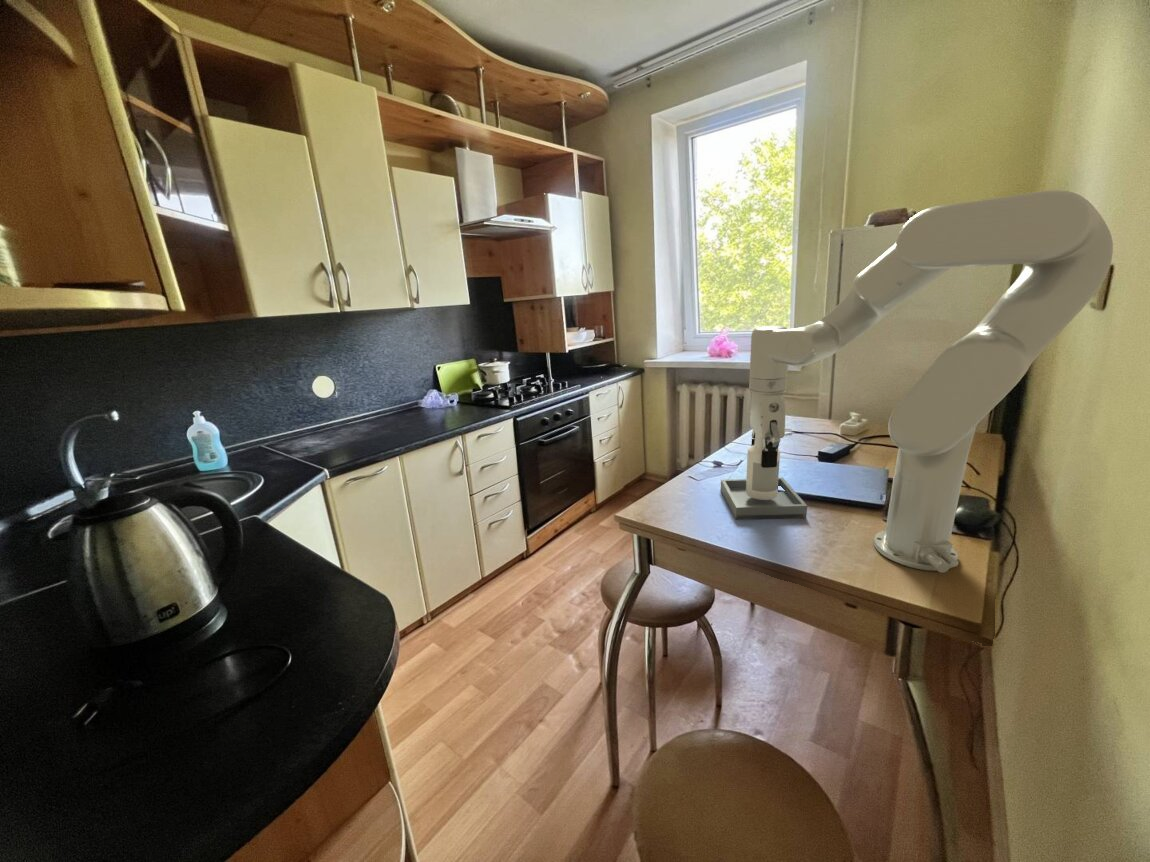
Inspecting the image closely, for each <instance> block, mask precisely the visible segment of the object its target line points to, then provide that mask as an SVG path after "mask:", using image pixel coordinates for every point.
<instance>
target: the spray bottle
mask: <svg viewBox="0 0 1150 862" xmlns="http://www.w3.org/2000/svg"><path fill="white" fill-rule="evenodd" d="M769 436H771V434H766V437H769ZM769 442H771V440H767V445H768V443H769ZM762 450H764V447H763V438H761V437H760V436H759V435H758V434H757V433H756V432H755V444H754V445H753V446H749V447H748V448H747V454H746V455H747V457H746V477H745V479H746V493H747V495H748V496H750V497H752V498H755V499H759V500H770V499H774V498H775V497H776V496H777V491H778V478H779V473H780V472H779V471H780V461H781V460H780V459H781V457H780V456H781V451H780V449H779V448H778V456H777V466H776V467H771V468H763V467H762V466H761V458H762Z"/></svg>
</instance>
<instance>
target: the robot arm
mask: <svg viewBox="0 0 1150 862" xmlns="http://www.w3.org/2000/svg"><path fill="white" fill-rule="evenodd" d="M1111 234H1112V233H1111V231H1110V229H1109V227H1108V225H1107V223H1106V221H1105V220H1104V218H1103V217H1102V215H1101V214H1100V212H1099V211H1098V210H1097V208H1096V207H1095V206H1094V205H1093V203H1091V202H1090V201H1089V200H1087V199H1086V197H1084V196H1082V195H1081V194H1079V193H1076V192H1073V191H1069V190H1060V189H1055V190H1053V189H1052V190H1051V189H1050V190H1043V191H1042V190H1041V191H1036V192H1028V193H1022V194H1015V195H1009V196H1001V197H995V198H988V199H981V200H980V199H979V200H972V201H966V202H959V203H958V202H957V203H949V204H941V205H939V204H938V205H935V206H931V207H927V208H925V209H923V210H921V211H919V212H918V213H916V214H914V215H913V216H912V217H910V218H909V220H907V221H906V222H905V223H904V225H903V226H902V227H901V229H900V230H899V232H898V234H897V236H896V241H895V243H894V244H893V245H892V246H891V247H889V248H888V249H887V250H886V251H884V253H882V254H881V255H879V257H878V258H876V259H875V260H874V261H872V262H871V263H870V264H869V265H868V266H867V267H865V268H864V269H863V270H861V272H859V273H858V274H857V275H856V276H855V278H854V279H853V280H852V282H851V287H850V290H849V292H848V293H847V294H846V296H845V297H844V298H843V300H842V301H841V302H839V303H838V304H837V305H836V306H835V307H834V308H832V309H831V310H830V311H829V312H828V313H827V314H825V315H824V316H823V317H822V318H820V319H818V320H817V321H816V322H814V323H812V324H808V325H807V324H806V325H804V326H801V327H795V328H790V329H789V328H788V327H786V326H784V325H763V326H759V327H756V328H754V329H753V331H752V332H751V337H750V339H751V340H750V360H749V383H748V385H749V386H748V392H749V393H751V401H750V402H751V403H750V410H749V411H750V412H749V415H750V416H749V421H750V422H749V425H750V428H751V429H752V433H751V446H753V445H754V444H755V432H756V433H757V434H758V435H759V436H760V437H761V438H763V447H764V450H762V458H761V466H762V467H763V468H771V467H776V466H777V456H778V449H779V446H780V442H781V439H783V438H785V436H786V399H785V393H786V392H787V387H788V386H787V385H788V373H789V370H788V369H789V365H790V366H796V367H805V366H806V367H807V366H809V365H811V364H813V363H814V364H815V363H816V362H819V361H822V360H825V359H827V358H830V357H832V356H833V355H835V354H836V353H838V352H839V351H841V350H842V349H844V348H845V347H846V346H847V345H849V344H851V343H852V342H853V341H855V340H856V339H857V338H858V337H860V336H861V335H863V334H864V333H865V332H867V331H868V330H869V329H870V328H872V327H873V326H874V325H875V324H877V323H878V322H880V321H881V320H883V319H884V318H885V317H886V316H888V314H890V313H891V312H892V311H893V310H895V309H896V308H897V307H899V306H900V305H902V304H903V303H904V302H905V301H907V300H908V299H910V298H911V297H912V296H914V295H915V294H916V293H918V292H919V291H921V290H922V289H923V288H925V287H926V286H927V285H929V284H930V283H932V282H933V281H934V280H936V279H937V278H940V276H941V275H943V274H944V273H946V272H948V270H950V269H952V268H970V267H988V266H1005V265H1022V269H1021V271H1020V273H1019V275H1018V276H1017V278H1016V279H1015V281H1014V282H1013V283H1012V285H1010V286H1009V288H1008V289H1007V290H1006V291H1005V292H1004V293H1003V294H1002V296H1000V298H998V300H997V302H996V303H995V304H994V305H993V307H992V308H991V309H990V311H989V312H988V313H987V314H986V315H985V316H984V317H983V318H982V320H980V321H979V323H978V324H977V325H976V326H975V327H974V328H973V329H972V330H971V331H970V332H968V334H966V335H965V336H962V337H961V338H960V339H958V340H956V341H954V342H953V343H952V344H950V345H949V346H948V347H946V348H945V350H943V351H942V352H941V353H940V355H939V356H938V357H937V358H936V359H935V360H934V362H932V363H931V365H930V366H929V367H928V369H926V371H925V372H924V373H923V374H922V376H921V377H920V378H919V379H918V380H917V382H916V383H915V384H914V385H913V387H911V389H910V390H909V391H908V392H907V394H906V395H905V396H903V398H902V399H901V400H900V401H899V403H898V404H897V406H895V408H894V409H893V410H892V412H891V414H890V416H889V419H888V425H887V430H888V434H889V438H890V440H891V441H892V442H893V443H894V445H895V446H896V447H897V448H898V451H897V454H896V455H897V457H896V462H895V467H894V472H893V473H894V474H893V478H892V485H891V491H890V498H889V506H888V511H887V518H886V525H885V530H881V531H879V532H877V533H876V534H875V535H874V538H873V546H874V547H875V549H876V550H877V551H878V552H879V553H880V554H881V555H882V556H884V557H885V558H887V559H889V560H891V561H893V562H895V563H897V564H900V565H902V566H906V567H909V568H913V569H918V570H921V571H922V570H923V571H935V572H939V573H941V574H942V573H943V574H944V573H947V572H948V571H949V570H950V569H952V568H955V567H957V566H958V565H959V563H960V562H959V561H958V559H959V555H958V552H957V551H956V549H954V548H953V543H951V542H950V541H951V538H952V532H953V527H954V522H955V519H956V514H957V509H958V503H959V499H960V494H961V489H962V484H963V480H964V475H965V473H966V467H967V461H968V457H969V454H970V450H971V446H972V442H973V439H974V437H975V436H974V435H975V432H976V429H977V426H978V424H979V423H980V422H981V421H982V420H983V419H984V418H985V417H986V416H987V415H988V414H989V413H990V412H991V411H992V410H993V409H994V408H995V407H996V406H997V405H998V404H999V403H1000V402H1001V401H1003V399H1004V398H1005V397H1006V396H1007V395H1008V394H1009V393H1010V392H1011V391H1012V390H1013V389H1014V387H1016V386H1017V384H1018V383H1019V382H1020V381H1021V380H1022V378H1023V377H1024V376H1026V373H1027V372H1028V371H1029V369H1030V367H1031V365H1032V364H1033V363H1034V361H1035V360H1036V358H1038V357H1039V356H1040V355H1041V353H1042V352H1043V351H1045V349H1046V348H1048V346H1049V345H1050V344H1051V343H1052V342H1053V341H1054V340H1055V339H1056V338H1057V337H1058V336H1059V335H1060V334H1061V333H1062V332H1063V330H1065V328H1066V327H1067V326H1068V325H1069V324H1070V323H1071V322H1072V321H1073V320H1074V319H1075V318H1076V316H1077V315H1078V314H1079V313H1080V312H1081V311H1082V310H1083V309H1084V308H1085V306H1087V304H1088V303H1089V302H1090V301H1091V300H1092V299H1093V297H1094V296H1095V295H1096V293H1097V292H1098V291H1099V289H1100V288H1101V286H1102V285H1103V283H1104V280H1105V279H1106V277H1107V275H1108V273H1109V270H1110V267H1111V264H1112V260H1113V253H1114V244H1113V238H1112V235H1111ZM766 434H771V436H769V437H766ZM767 440H771V442H769V443H768V445H767ZM751 446H750V447H751Z"/></svg>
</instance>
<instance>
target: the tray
mask: <svg viewBox="0 0 1150 862" xmlns="http://www.w3.org/2000/svg"><path fill="white" fill-rule="evenodd" d="M778 486H781V487H782V488H783V489H784V490H785V492H778V491H777V496H776V497H775V498H774V499H770V500H759V499H755V498H752V497H750V496H748V495H747V493H746V478H736V479H735V478H732V479H720V492H721V495H723V497H724V500H725V501H726V503H727V505H728V507H729V509H730V511H731V513H732V515H733V517H734V519H735V520H739V521H740V520H744V521H745V520H777V519H778V520H782V519H783V520H784V519H786V520H787V519H788V520H789V519H807V516H808V515H807V514H808V505H807V503H806V502H805V501H804V500H803V499H802V498H801V497H800V496H799V494H798V493H797V492H796V491H795V490H794V489H793V488H792V486H790V484H789V483H788V482H787V481H786V480H785V478H784V477H778Z"/></svg>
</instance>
